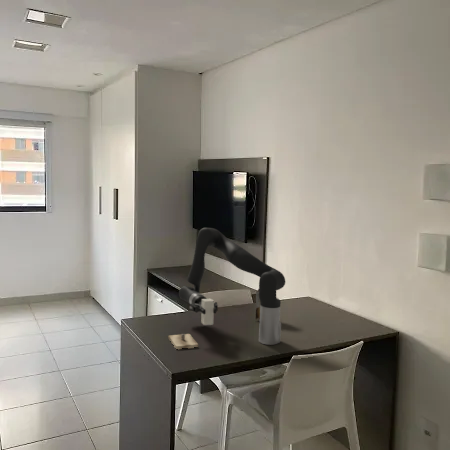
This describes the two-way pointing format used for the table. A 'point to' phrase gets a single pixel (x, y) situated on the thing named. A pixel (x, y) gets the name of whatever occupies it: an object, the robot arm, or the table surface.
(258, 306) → the coffee box
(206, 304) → the block
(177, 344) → the pin dock
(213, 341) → the table surface
